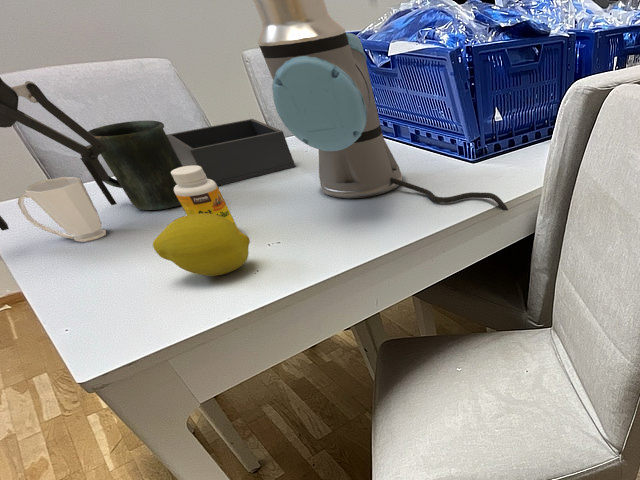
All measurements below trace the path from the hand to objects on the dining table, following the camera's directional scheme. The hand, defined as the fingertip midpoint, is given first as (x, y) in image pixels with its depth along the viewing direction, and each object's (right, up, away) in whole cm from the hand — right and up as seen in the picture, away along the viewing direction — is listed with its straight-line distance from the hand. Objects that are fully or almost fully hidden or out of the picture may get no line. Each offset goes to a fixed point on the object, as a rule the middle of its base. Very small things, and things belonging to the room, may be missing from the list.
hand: (61, 214), depth 70 cm
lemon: (+30, -11, -7) cm, 33 cm away
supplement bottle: (+24, -3, +1) cm, 25 cm away
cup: (0, -3, +3) cm, 4 cm away
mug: (+4, +8, +13) cm, 16 cm away
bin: (+10, +21, +27) cm, 36 cm away
